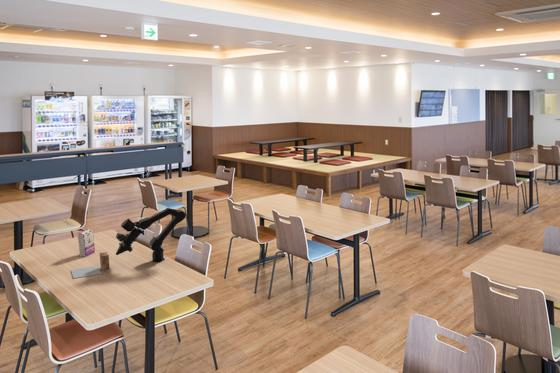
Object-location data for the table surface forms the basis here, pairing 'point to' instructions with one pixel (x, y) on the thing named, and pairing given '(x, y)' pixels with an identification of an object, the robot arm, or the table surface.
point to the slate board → (85, 272)
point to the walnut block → (104, 261)
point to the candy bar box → (86, 243)
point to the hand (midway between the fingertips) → (116, 254)
